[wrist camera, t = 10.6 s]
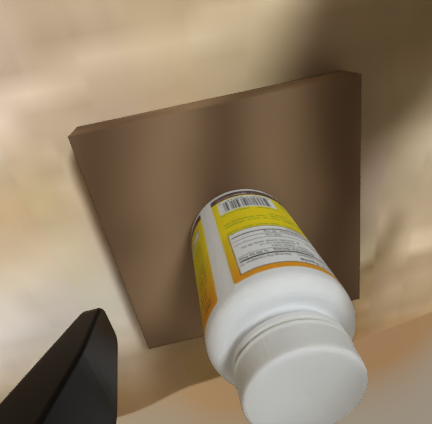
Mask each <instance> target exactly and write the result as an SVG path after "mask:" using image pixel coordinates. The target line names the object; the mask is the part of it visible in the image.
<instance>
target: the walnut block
mask: <svg viewBox="0 0 432 424" xmlns="http://www.w3.org/2000/svg"><path fill="white" fill-rule="evenodd" d="M68 138H69V141H70V144H71V146H72V149H73V152H74V154H75V157H76V159H77V162H78V165H79V167H80V170H81V172H82V175H83V178H84V180H85V183H86V185H87V188H88V191H89V193H90V196H91V198H92V201H93V204H94V206H95V209H96V212H97V214H98V217H99V219H100V222H101V225H102V227H103V230H104V232H105V235H106V238H107V240H108V243H109V245H110V248H111V251H112V253H113V256H114V258H115V261H116V264H117V266H118V269H119V272H120V274H121V277H122V279H123V282H124V285H125V287H126V290H127V292H128V295H129V298H130V300H131V303H132V305H133V308H134V311H135V313H136V316H137V318H138V321H139V324H140V326H141V329H142V332H143V334H144V337H145V339H146V342H147V345H148V347H149V349H151V348H155V347H159V346H163V345H168V344H172V343H176V342H180V341H184V340H189V339H193V338H197V337H201V336H204V331H203V324H202V316H201V310H200V303H199V296H198V289H197V283H196V276H195V269H194V262H193V256H192V249H191V232H192V227H193V224H194V222H195V220H196V218H197V216H198V214H199V213H200V211H201V210H202V209H203V208H204V207H205V206H206V205H207V204H208V203H209V202H210V201H211V200H213V199H214V198H216V197H218V196H219V195H221V194H224V193H226V192H229V191H233V190H239V189H252V190H257V191H261V192H264V193H266V194H268V195H270V196H272V197H273V198H275V199H276V200H277V201H279V202H280V203H281V204H282V205H283V207H284V208H285V209H286V210H287V212H288V213H289V215H290V216H291V217H292V219H293V220H294V221H295V223H296V224H297V226H298V227H299V228H300V230H301V231H302V232H303V234H304V235H305V236H306V238H307V239H308V240H309V242H310V243H311V244H312V246H313V247H314V249H315V250H316V251H317V253H318V254H319V255H320V257H321V258H322V259H323V261H324V262H325V264H326V265H327V266H328V268H329V269H330V270H331V271H332V273H333V274H334V276H335V277H336V278H337V279H338V281H339V282H340V283H341V285H342V286H343V288H344V289H345V291H346V292H347V294H348V296H349V297H350V299H351V301H352V300H356V299H359V285H360V138H361V74H358V73H353V72H348V71H337V72H332V73H328V74H323V75H318V76H314V77H309V78H304V79H300V80H295V81H290V82H286V83H281V84H276V85H272V86H267V87H262V88H258V89H253V90H248V91H244V92H239V93H234V94H230V95H225V96H220V97H216V98H211V99H206V100H202V101H197V102H192V103H188V104H183V105H178V106H174V107H169V108H164V109H160V110H155V111H150V112H146V113H141V114H136V115H132V116H127V117H122V118H118V119H113V120H108V121H103V122H99V123H94V124H89V125H85V126H80V127H77V128H76V129H75V130H74V131H73V132H72V133H71V134H70V135H69V136H68Z"/></svg>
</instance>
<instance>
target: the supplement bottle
mask: <svg viewBox="0 0 432 424" xmlns="http://www.w3.org/2000/svg"><path fill="white" fill-rule="evenodd" d="M191 249H192V256H193V262H194V269H195V276H196V283H197V289H198V296H199V303H200V310H201V316H202V324H203V331H204V338H205V345H206V350H207V354H208V357H209V359H210V362H211V364H212V365H213V367H214V368H215V370H216V371H217V372H218V373H219V374H220V375H221V376H222V377H223V378H224V379H225V380H227V381H228V382H229V383H231V384H233V385H234V386H235V387H236V389H237V390H238V394H239V398H240V403H241V407H242V410H243V413H244V415H245V417H246V419H247V420H248V421H249V422H250V423H251V424H335V423H337V422H339V421H340V420H342V419H343V418H344V417H346V416H347V415H348V414H349V413H350V412H352V410H354V409H355V407H356V406H357V405H358V404H359V403H360V401H361V400H362V398H363V396H364V394H365V392H366V388H367V385H368V374H367V370H366V367H365V365H364V362H363V361H362V359H361V358H360V356H359V354H358V352H357V351H356V349H355V347H354V344H353V342H352V340H353V337H354V333H355V327H356V316H355V310H354V307H353V304H352V301H351V299H350V297H349V296H348V294H347V292H346V291H345V289H344V288H343V286H342V285H341V283H340V282H339V281H338V279H337V278H336V277H335V276H334V274H333V273H332V271H331V270H330V269H329V268H328V266H327V265H326V264H325V262H324V261H323V259H322V258H321V257H320V255H319V254H318V253H317V251H316V250H315V249H314V247H313V246H312V244H311V243H310V242H309V240H308V239H307V238H306V236H305V235H304V234H303V232H302V231H301V230H300V228H299V227H298V226H297V224H296V223H295V221H294V220H293V219H292V217H291V216H290V215H289V213H288V212H287V210H286V209H285V208H284V207H283V205H282V204H281V203H280V202H279V201H277V200H276V199H275V198H273V197H272V196H270V195H268V194H266V193H264V192H261V191H257V190H252V189H239V190H233V191H229V192H226V193H224V194H221V195H219V196H218V197H216V198H214V199H213V200H211V201H210V202H209V203H208V204H207V205H206V206H205V207H204V208H203V209H202V210H201V211H200V213H199V214H198V216H197V218H196V220H195V222H194V224H193V227H192V232H191Z"/></svg>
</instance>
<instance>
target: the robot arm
mask: <svg viewBox="0 0 432 424" xmlns="http://www.w3.org/2000/svg"><path fill="white" fill-rule="evenodd" d="M117 357H118V344H117V337H116V334H115V332H114V330H113V328H112V325H111V323H110V321H109V319H108V317H107V315H106V313H105V311H104V310H103V309H101V308H97V309H93V310H89V311H85V312H83V313H82V314H80V315H79V317H78V318H77V319H76V320H75V321H74V322H73V323H72V324H71V326H70V327H69V328H68V329H67V330H66V331H65V332H64V333H63V334H62V336H61V337H60V338H59V339H58V340H57V341H56V342H55V343H54V344H53V346H52V347H51V348H50V349H49V350H48V351H47V352H46V353H45V354H44V356H43V357H42V358H41V359H40V360H39V361H38V362H37V363H36V365H35V366H34V367H33V368H32V369H31V370H30V371H29V372H28V373H27V375H26V376H25V377H24V378H23V379H22V380H21V381H20V382H19V383H18V385H17V386H16V387H15V388H14V389H13V390H12V391H11V392H10V393H9V395H8V396H7V397H6V398H5V399H4V400H3V401H2V402H1V403H0V424H116V419H117Z"/></svg>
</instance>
